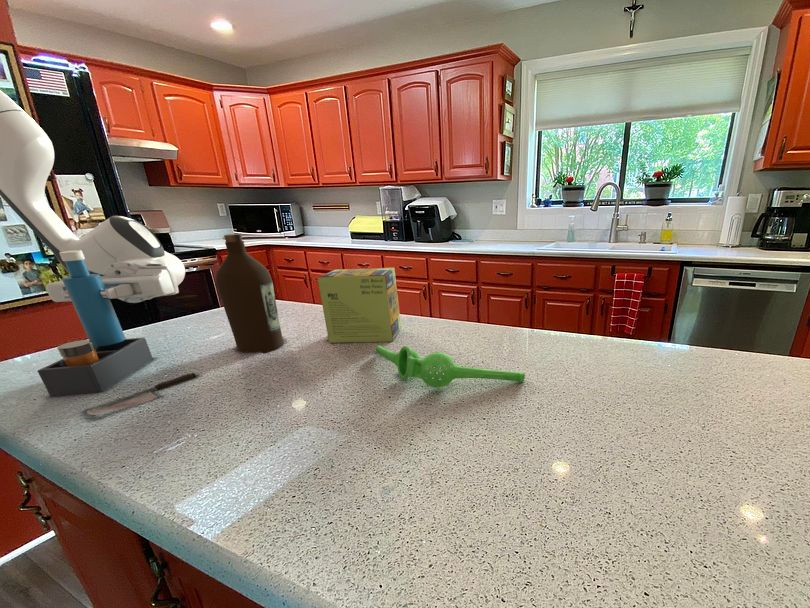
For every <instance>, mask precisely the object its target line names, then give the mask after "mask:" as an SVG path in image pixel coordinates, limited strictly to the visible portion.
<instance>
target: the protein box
mask: <svg viewBox="0 0 810 608" xmlns="http://www.w3.org/2000/svg"><path fill="white" fill-rule="evenodd" d="M317 285H318V290H319V294H320V300H321V306H322V311H323V316H324V323H325V327H326V332H327V339H328V343H336V344H337V343H339V344H340V343H382V342H387V343H388V342H390V343H391V342H393V341H394V340H395V339H396V337H397V335H398V334H399V333H400V331H401V329H402V321H401V314H400V305H399V296H398V295H399V294H398V286H397V279H396V269H395V267H380V268H379V267H377V268H374V267H373V268H345V269H333V270H331V271H329V272H327V273H324V274H322V275H319V276H318V277H317Z"/></svg>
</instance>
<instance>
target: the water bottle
mask: <svg viewBox="0 0 810 608" xmlns="http://www.w3.org/2000/svg"><path fill="white" fill-rule="evenodd" d="M59 254H60V256H61V258H62V261H65V264H66V266H67V268H68V271H69V273H70V274H69V273H68V274H69V275H70V276H66V277H63V278H61V281H63V283H64V285H65V287H66V289H67V292H68V294H69V296H70V298H71V301H70V302H71V303H72V305H73V308H74V310H75V311H76V312H75V313H76V314H77V316H78V319H79V321H80V323H81V325H82V328H83V330H84V332H85V334H86V337H87V340H92V342H93V344H94V346H95V347H98V346H107V345H112V344H116V343H119V342H122V341H124V340H125V339H127V338H126V336H125V333H124V331H123V328H122V326H121V323H120V320H119V318H118V317H117V313H116V311H115V309H114V306H113V304H112V300H111V299H103V298H102V297H101V296H102V295H101V294H100V290H102V289H105V286H104V284H103V281H102V279H101V276H100V274H90V273H89V271H88V268H87V266H86V263H85V261H84V259H85V257H84V255H83V253H82V251H66V252H60V253H59Z"/></svg>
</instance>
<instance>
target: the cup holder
mask: <svg viewBox="0 0 810 608" xmlns="http://www.w3.org/2000/svg"><path fill="white" fill-rule="evenodd" d="M95 350H96V353H97V355H98V357H99V360H98V361H96V362H94V363H92V364H90V365H82V366H70V367H67V366H66V364H65V362H64V360H63V358H61V359H59V360H57V361H55V362H53V363H51V364H48V365H46V366H44V367H42V368H40V369H38V370H37V374H38V376H39V377H40V379H41V381H42V383H43V385H44V387H45V389H46V392H47V393H48V395H49V397H50V398H52V397H63V396H73V395H74V396H75V395H84V394H85V395H86V394H95V393H103V392H105V391H106V390H108V389H110V388H111V387H112V386H114V385H115V384H117V383H119V382H121V381H122V380H124V379H125V378H127V377H128V376H130V375H131V374H133V373H134V372H136V371H138V370H139V369H141V368H143V367H145V366H146V365H147V364H149V363H150V362H152V361H153V360H154V358H153V355H152V352H151V350H150V348H149V345H148V342H147V339H146V337H133V338H126V339H125V340H124V341H122V342H119V343H116V344H112V345H107V346H98V347H95Z"/></svg>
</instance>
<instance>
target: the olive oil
mask: <svg viewBox="0 0 810 608" xmlns="http://www.w3.org/2000/svg"><path fill="white" fill-rule="evenodd" d="M223 238H224V240H225V242H224V244H225V248H226V251H227V255H226V257H225V258H224V260H223V261H222V263H221V264H220V265H219V267H218V268H217V271H216V272H215V287H216V289H217V292H218V295H219V297H220V300H221V303H222V306H223V308H224V311H225V315H226V317H227V321H228V323H229V326H230V329H231V332H232V335H233V339H234V342H235V345H236V348H237V351H238V352H240V353H248V354H249V353H262V354H264V353H268V352H272V351H275V350H277V349H279V348H281V347H283V345H284V339H283V338H284V337H283V333H282V328H281V323H280V317H279V313H278V312H279V311H278V307H277V300H276V294H275V289H274V283H273V279H272V276H271V274H270V272H269V270H268V268H267V267H265V265H263V264H262V263H261V262H259V261H258V260H257V259H255V258H254V257H253V256H251V255H250V254H249V253H248V252H247V250H246V246H245V241H244V240H243V237H242V234H240V233H233V234H232V233H231V234H224V235H223Z"/></svg>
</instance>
